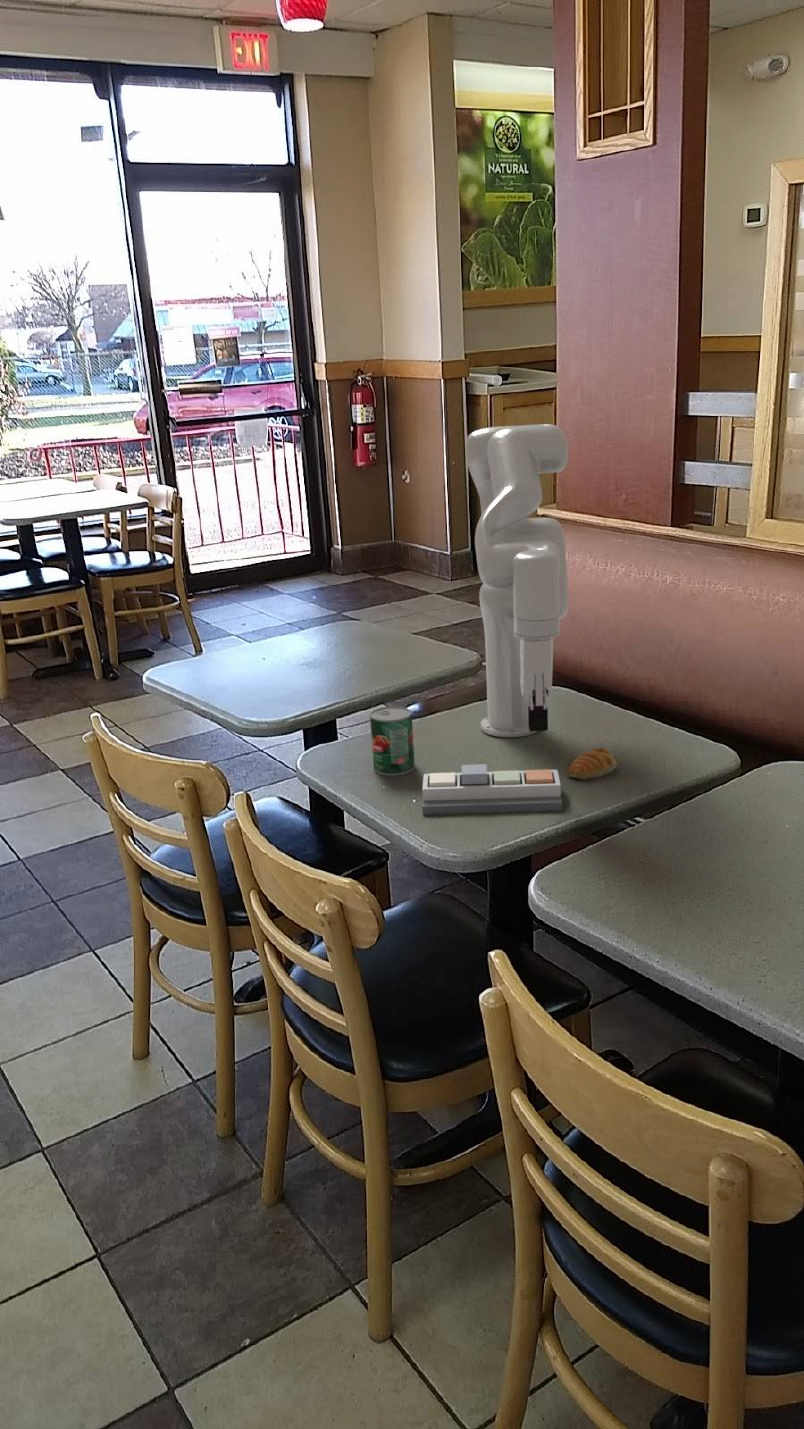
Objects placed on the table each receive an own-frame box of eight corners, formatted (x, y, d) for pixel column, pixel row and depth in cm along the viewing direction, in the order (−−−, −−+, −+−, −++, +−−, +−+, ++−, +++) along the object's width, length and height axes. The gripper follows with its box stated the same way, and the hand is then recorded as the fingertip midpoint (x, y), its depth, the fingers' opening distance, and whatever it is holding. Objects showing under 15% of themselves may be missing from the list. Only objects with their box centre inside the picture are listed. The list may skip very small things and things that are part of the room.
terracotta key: (525, 779, 194) (525, 770, 193) (551, 778, 193) (550, 769, 193) (527, 789, 190) (527, 779, 189) (553, 788, 189) (552, 778, 189)
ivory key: (430, 782, 195) (430, 773, 194) (455, 781, 195) (455, 772, 194) (429, 792, 191) (429, 782, 190) (455, 791, 190) (454, 782, 190)
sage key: (494, 780, 194) (493, 771, 194) (519, 779, 194) (518, 770, 193) (494, 790, 190) (494, 780, 189) (520, 789, 190) (520, 780, 189)
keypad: (425, 787, 199) (424, 768, 198) (556, 783, 198) (556, 764, 197) (422, 814, 188) (421, 795, 187) (562, 810, 186) (561, 790, 185)
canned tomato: (423, 765, 210) (420, 710, 206) (396, 778, 204) (393, 723, 200) (391, 757, 214) (388, 703, 211) (364, 770, 209) (360, 715, 205)
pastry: (589, 785, 196) (588, 765, 195) (558, 777, 201) (558, 757, 200) (619, 769, 203) (619, 750, 201) (589, 761, 207) (589, 742, 206)
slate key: (461, 774, 194) (461, 765, 194) (486, 773, 194) (486, 764, 193) (461, 784, 190) (461, 774, 189) (487, 783, 190) (487, 773, 189)
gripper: (511, 615, 190) (514, 715, 196) (516, 639, 176) (518, 746, 182) (555, 613, 189) (556, 713, 195) (563, 637, 175) (564, 744, 181)
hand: (538, 729), depth 189 cm, fingers closed
